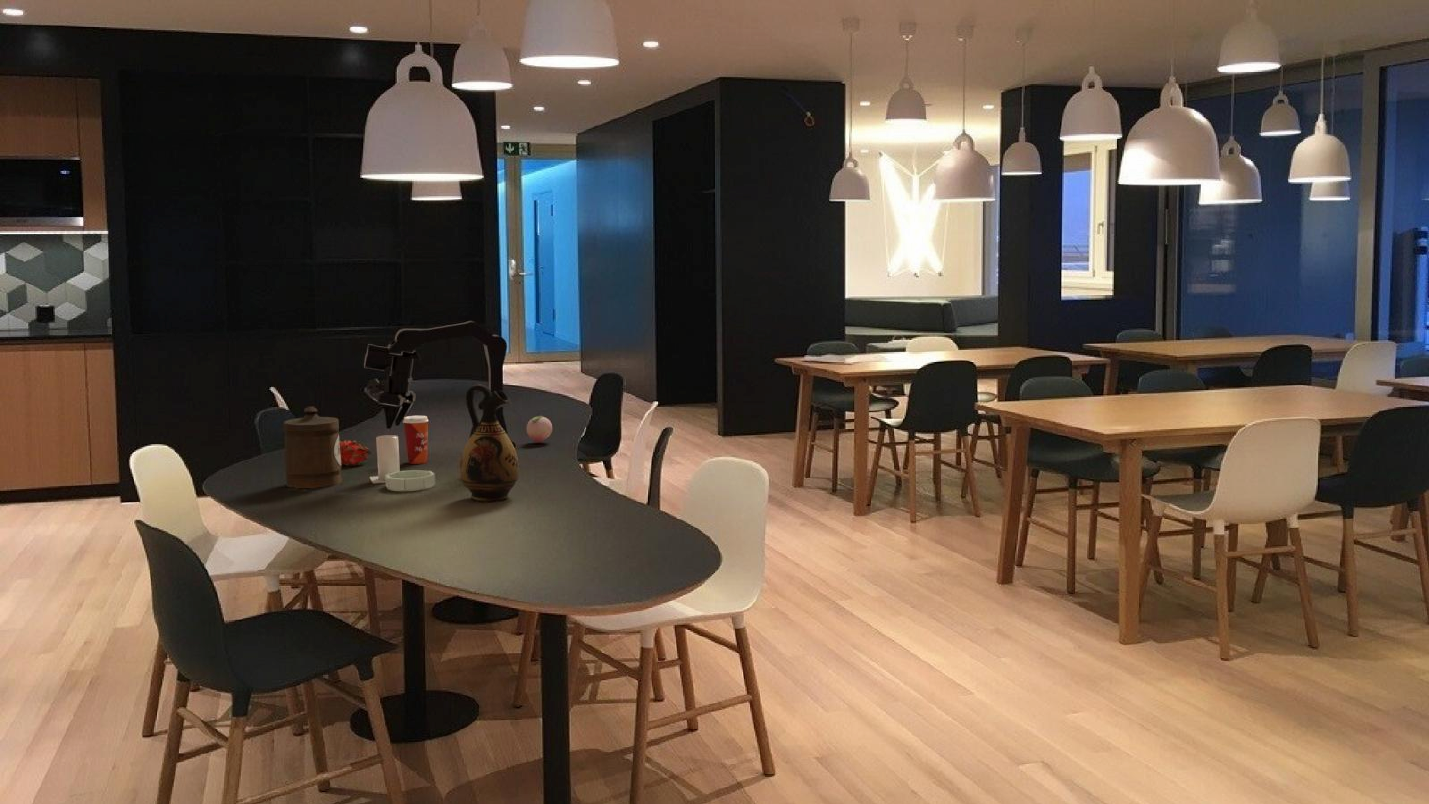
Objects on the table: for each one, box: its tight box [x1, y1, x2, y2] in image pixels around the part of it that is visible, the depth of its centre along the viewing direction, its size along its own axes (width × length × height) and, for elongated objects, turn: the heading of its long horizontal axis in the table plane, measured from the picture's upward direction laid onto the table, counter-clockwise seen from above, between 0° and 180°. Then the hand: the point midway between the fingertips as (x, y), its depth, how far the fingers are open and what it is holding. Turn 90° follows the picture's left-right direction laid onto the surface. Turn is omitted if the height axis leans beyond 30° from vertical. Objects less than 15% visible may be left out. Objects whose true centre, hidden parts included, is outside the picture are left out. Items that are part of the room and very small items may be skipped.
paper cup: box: [402, 415, 429, 465], centre depth 381 cm, size 8×8×14 cm
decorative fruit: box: [526, 413, 553, 444], centre depth 413 cm, size 9×8×10 cm
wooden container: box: [283, 406, 343, 489], centre depth 349 cm, size 15×15×22 cm
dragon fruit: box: [339, 439, 372, 467], centre depth 379 cm, size 8×8×12 cm
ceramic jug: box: [459, 383, 520, 503], centre depth 327 cm, size 17×15×30 cm
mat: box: [369, 475, 386, 484], centre depth 355 cm, size 10×10×1 cm
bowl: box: [385, 469, 436, 492], centre depth 343 cm, size 13×13×4 cm
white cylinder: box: [375, 434, 401, 481], centre depth 354 cm, size 6×6×12 cm
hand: (392, 427), depth 355 cm, fingers open, 9 cm apart
